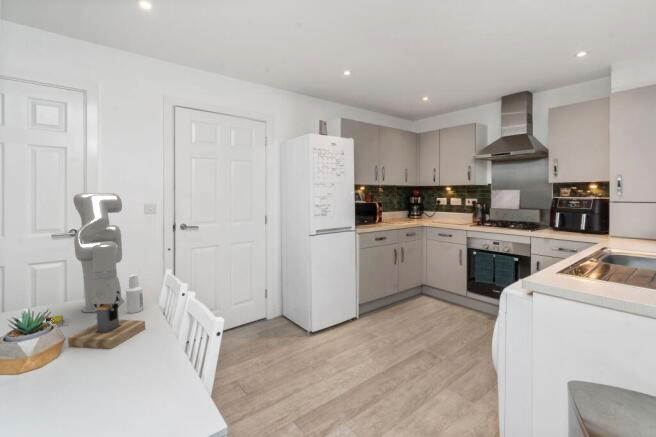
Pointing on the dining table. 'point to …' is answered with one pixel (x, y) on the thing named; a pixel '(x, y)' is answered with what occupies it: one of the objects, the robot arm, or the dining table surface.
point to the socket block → (106, 335)
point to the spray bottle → (134, 295)
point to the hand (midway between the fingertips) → (108, 319)
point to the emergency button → (58, 320)
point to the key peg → (106, 319)
